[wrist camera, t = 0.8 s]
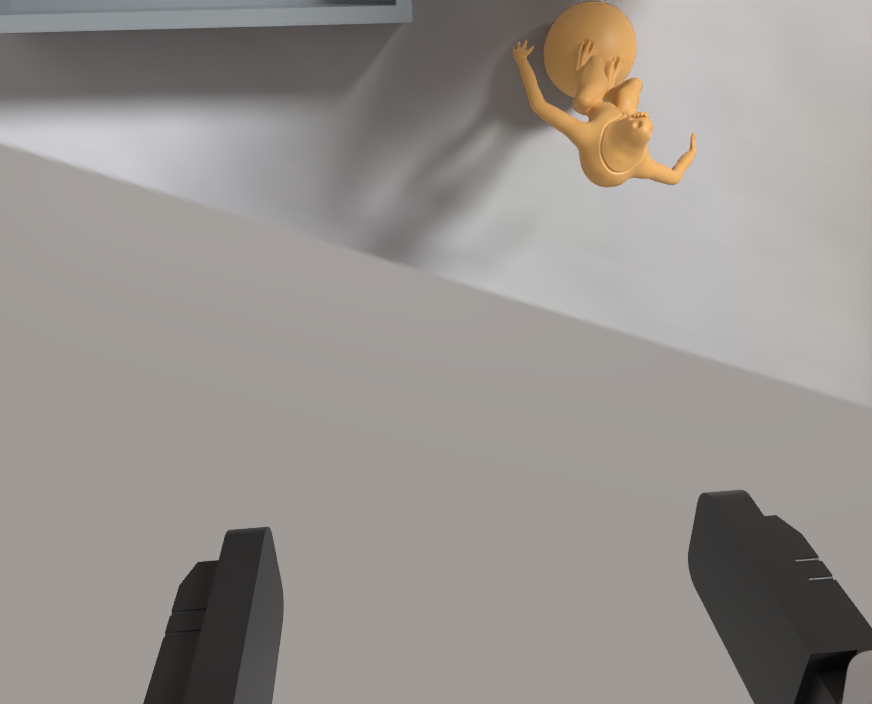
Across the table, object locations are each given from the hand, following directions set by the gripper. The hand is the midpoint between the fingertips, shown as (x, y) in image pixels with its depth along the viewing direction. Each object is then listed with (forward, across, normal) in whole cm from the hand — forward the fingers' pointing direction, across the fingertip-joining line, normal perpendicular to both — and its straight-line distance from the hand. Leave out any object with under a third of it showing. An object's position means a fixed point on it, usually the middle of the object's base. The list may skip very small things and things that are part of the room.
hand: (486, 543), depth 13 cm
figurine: (+25, -7, -5) cm, 27 cm away
